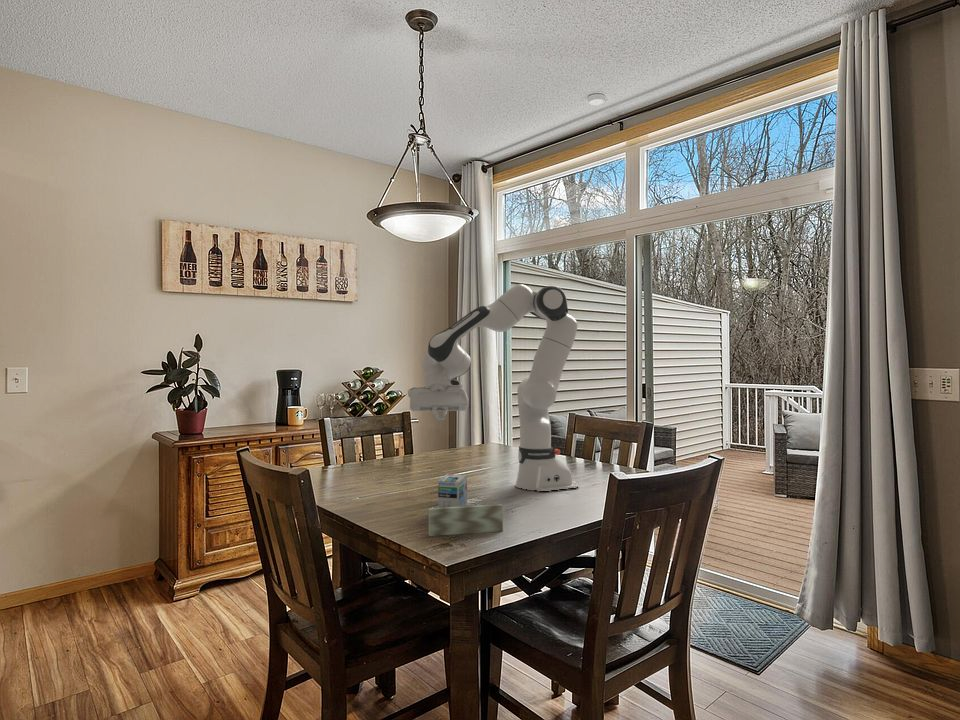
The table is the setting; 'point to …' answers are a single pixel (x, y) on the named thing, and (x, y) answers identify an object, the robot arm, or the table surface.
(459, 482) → the light bulb box
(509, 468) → the table surface
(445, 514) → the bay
